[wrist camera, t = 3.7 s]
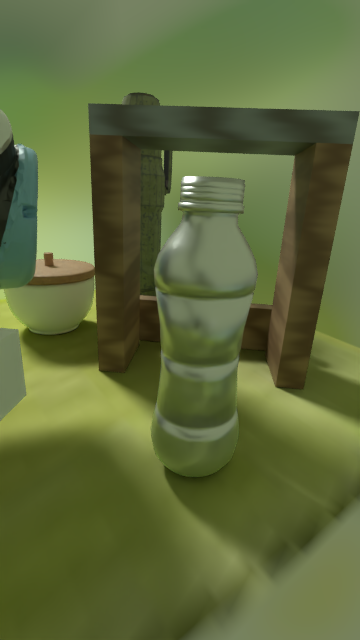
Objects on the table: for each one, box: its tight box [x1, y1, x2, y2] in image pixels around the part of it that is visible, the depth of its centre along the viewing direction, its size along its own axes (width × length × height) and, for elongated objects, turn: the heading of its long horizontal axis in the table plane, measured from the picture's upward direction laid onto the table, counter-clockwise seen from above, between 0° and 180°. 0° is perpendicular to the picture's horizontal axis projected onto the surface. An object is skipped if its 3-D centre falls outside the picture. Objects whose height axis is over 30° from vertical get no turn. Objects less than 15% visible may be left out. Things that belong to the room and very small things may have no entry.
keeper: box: [88, 104, 359, 389], centre depth 38 cm, size 23×12×26 cm, turn 84°
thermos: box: [122, 93, 172, 296], centre depth 61 cm, size 9×12×35 cm
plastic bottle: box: [151, 176, 258, 477], centre depth 22 cm, size 6×7×20 cm
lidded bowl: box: [4, 252, 95, 335], centre depth 48 cm, size 13×13×11 cm
